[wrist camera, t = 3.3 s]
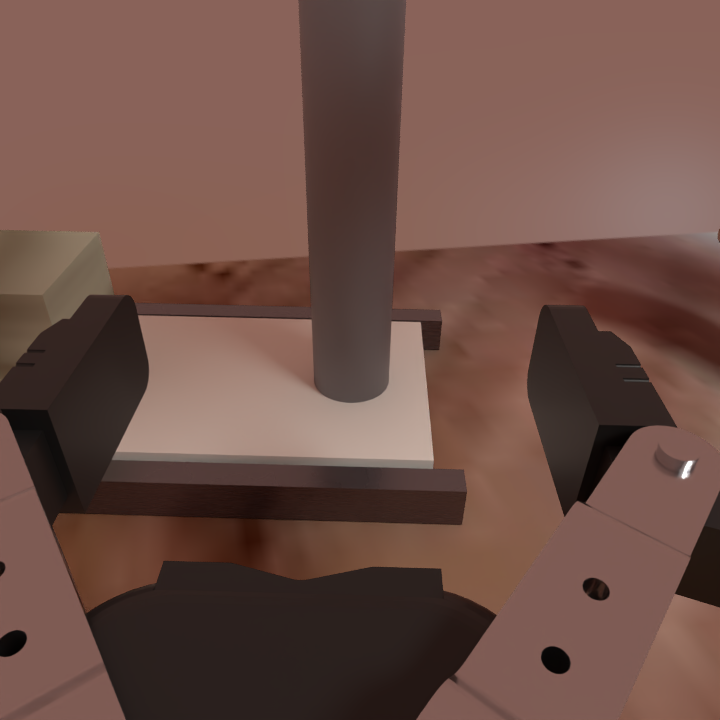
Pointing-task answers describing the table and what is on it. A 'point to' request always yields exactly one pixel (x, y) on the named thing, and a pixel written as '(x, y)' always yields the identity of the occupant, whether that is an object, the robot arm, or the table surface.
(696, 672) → the table surface
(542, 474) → the table surface
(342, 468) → the guide rails
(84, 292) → the block
